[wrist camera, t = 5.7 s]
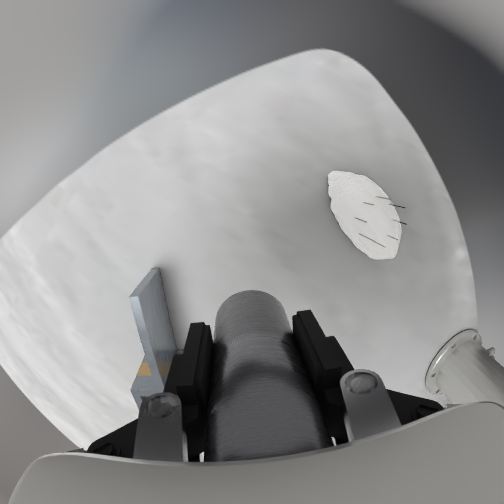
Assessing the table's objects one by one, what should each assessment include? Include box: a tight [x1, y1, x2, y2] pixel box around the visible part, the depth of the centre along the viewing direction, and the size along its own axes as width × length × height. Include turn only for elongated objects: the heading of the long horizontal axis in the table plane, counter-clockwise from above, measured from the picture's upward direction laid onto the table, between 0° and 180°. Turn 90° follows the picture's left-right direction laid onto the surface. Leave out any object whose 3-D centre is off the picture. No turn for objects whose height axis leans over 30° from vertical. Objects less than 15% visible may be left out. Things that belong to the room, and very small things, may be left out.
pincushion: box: [328, 171, 407, 260], centre depth 25 cm, size 12×6×6 cm, turn 44°
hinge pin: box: [204, 290, 334, 462], centre depth 8 cm, size 5×5×11 cm
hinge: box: [129, 268, 184, 409], centre depth 27 cm, size 17×17×7 cm
